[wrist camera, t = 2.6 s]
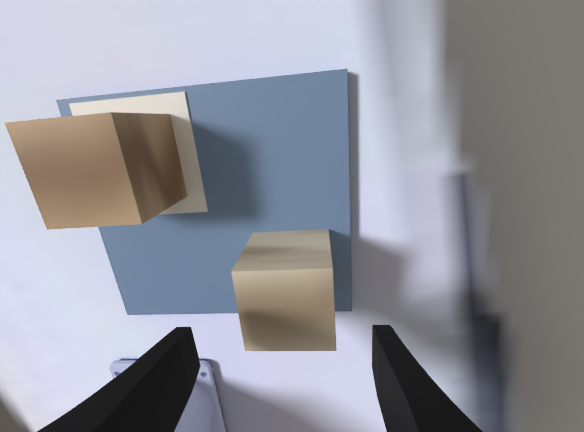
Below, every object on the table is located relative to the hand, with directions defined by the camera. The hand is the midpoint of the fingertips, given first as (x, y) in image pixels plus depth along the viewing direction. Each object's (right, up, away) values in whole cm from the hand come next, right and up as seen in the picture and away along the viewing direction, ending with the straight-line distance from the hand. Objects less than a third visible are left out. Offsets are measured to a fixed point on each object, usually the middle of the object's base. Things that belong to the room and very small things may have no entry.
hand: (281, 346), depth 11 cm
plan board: (-4, +5, +6) cm, 9 cm away
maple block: (0, +2, +6) cm, 7 cm away
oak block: (-8, +8, +5) cm, 12 cm away
